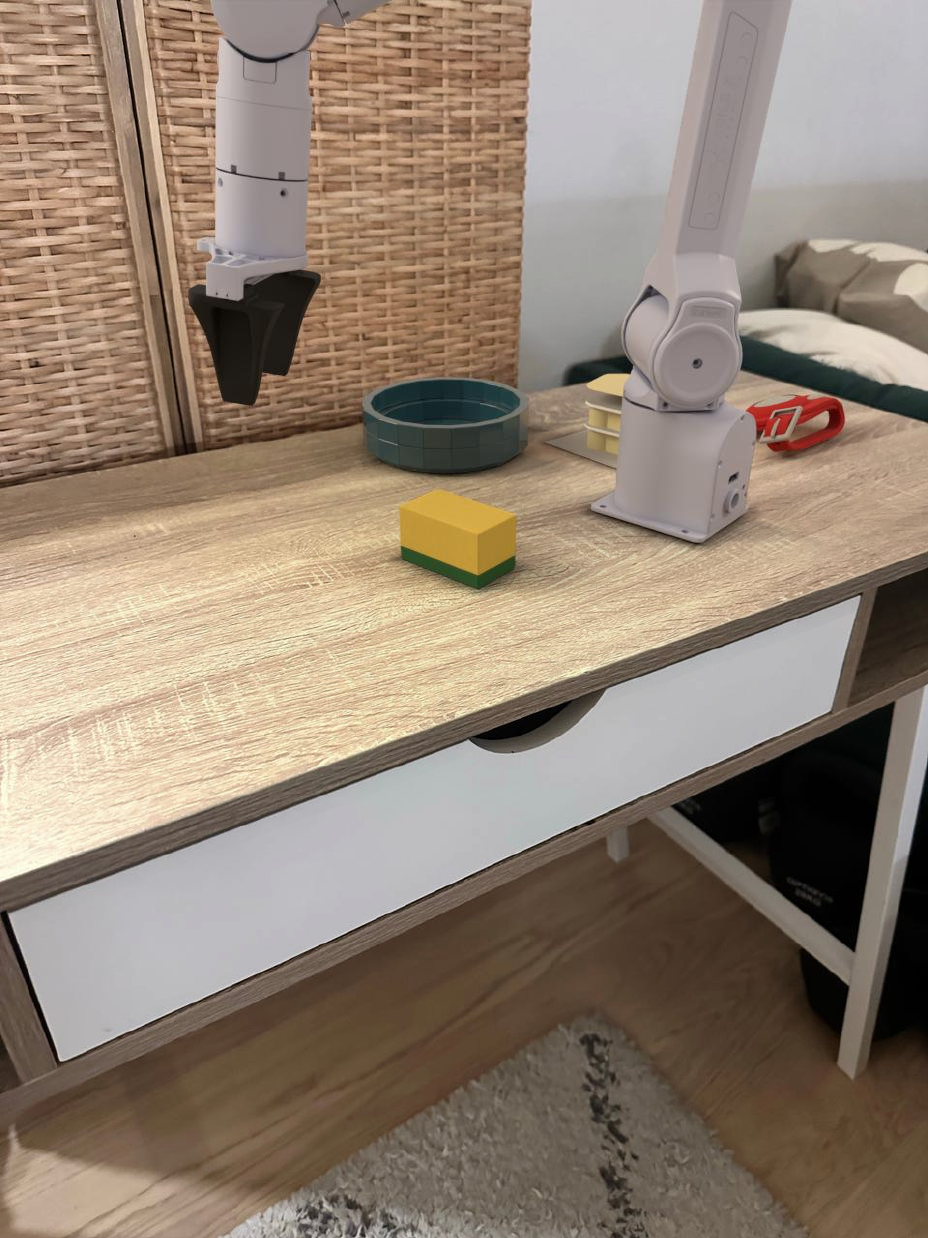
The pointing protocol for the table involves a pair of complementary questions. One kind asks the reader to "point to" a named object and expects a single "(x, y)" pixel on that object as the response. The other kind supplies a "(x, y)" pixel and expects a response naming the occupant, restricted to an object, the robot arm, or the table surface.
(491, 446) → the bowl
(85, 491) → the table surface
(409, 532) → the sponge
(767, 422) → the red buckle strap
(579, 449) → the stacked layers on plate
